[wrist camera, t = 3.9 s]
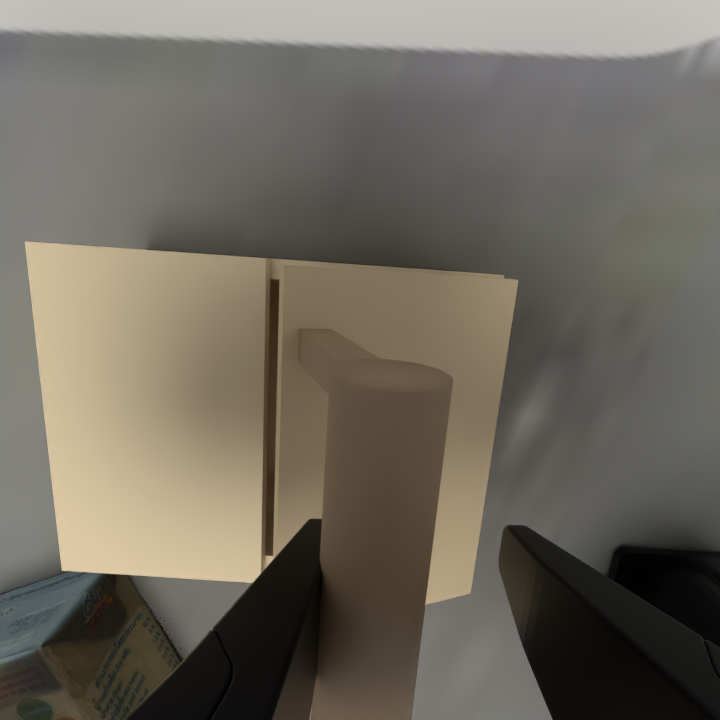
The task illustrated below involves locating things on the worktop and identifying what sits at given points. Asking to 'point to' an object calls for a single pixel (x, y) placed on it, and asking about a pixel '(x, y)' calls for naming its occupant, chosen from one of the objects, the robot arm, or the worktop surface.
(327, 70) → the worktop surface
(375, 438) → the cabinet door with handle
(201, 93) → the worktop surface
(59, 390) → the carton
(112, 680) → the beverage carton
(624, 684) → the robot arm
